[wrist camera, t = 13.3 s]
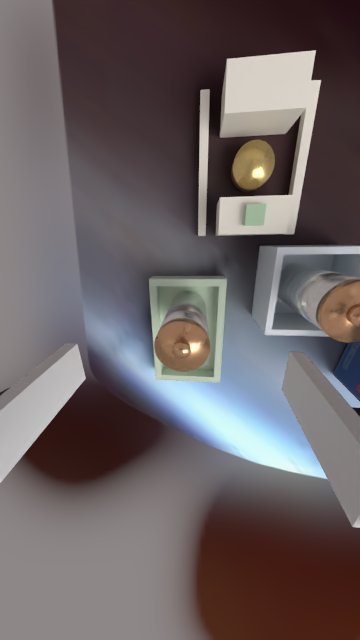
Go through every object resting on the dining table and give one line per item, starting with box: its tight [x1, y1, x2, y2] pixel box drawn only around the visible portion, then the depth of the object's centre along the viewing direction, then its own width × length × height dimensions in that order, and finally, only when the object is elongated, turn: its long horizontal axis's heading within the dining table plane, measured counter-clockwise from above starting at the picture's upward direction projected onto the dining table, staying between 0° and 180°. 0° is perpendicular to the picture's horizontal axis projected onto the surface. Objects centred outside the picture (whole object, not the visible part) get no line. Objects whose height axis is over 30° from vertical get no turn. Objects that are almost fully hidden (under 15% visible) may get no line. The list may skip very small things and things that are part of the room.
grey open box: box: [251, 245, 360, 337], centre depth 21 cm, size 8×8×6 cm
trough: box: [149, 276, 227, 383], centre depth 26 cm, size 14×9×2 cm, turn 1°
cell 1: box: [154, 291, 210, 372], centre depth 20 cm, size 4×4×11 cm
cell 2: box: [277, 264, 360, 343], centre depth 18 cm, size 4×4×11 cm
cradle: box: [198, 50, 321, 236], centre depth 18 cm, size 12×10×5 cm
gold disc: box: [231, 140, 275, 192], centre depth 19 cm, size 4×4×2 cm
